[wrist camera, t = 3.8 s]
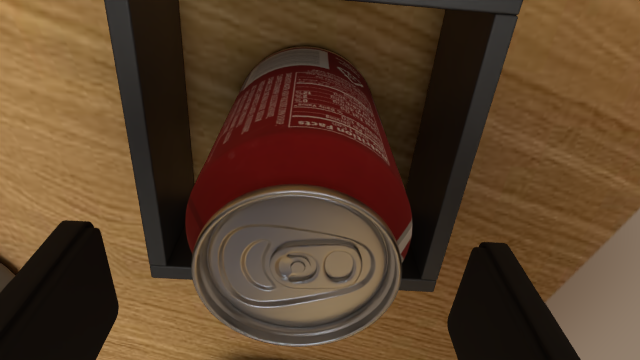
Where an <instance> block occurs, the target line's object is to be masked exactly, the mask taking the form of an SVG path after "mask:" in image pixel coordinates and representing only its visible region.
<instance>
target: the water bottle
mask: <svg viewBox="0 0 640 360" xmlns="http://www.w3.org/2000/svg"><path fill="white" fill-rule="evenodd" d="M14 277H15V275H14V274H13V273H12V272H11V271H10V270H9V269H8V268H7V267H5V266H4V265H3V264H1V263H0V292H1V291H2V290H3V289H4V288H5V286H6V285H7V284H8V283H9V282H10V281H11V280H12V279H13V278H14Z"/></svg>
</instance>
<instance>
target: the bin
mask: <svg viewBox="0 0 640 360" xmlns="http://www.w3.org/2000/svg"><path fill="white" fill-rule="evenodd" d="M346 1H358V2H369V3H381V4H392V5H404V6H415V7H427V8H438V9H446V12H445V16H444V21H443V25H442V30H441V34H440V39H439V43H438V48H437V52H436V57H435V61H434V66H433V70H432V75H431V79H430V84H429V88H428V93H427V97H426V102H425V106H424V111H423V115H422V120H421V124H420V129H419V133H418V138H417V142H416V147H415V151H414V156H413V160H412V165H411V169H410V174H409V178H408V183H407V187H406V194H407V197H408V200H409V203H410V208H411V213H412V236H411V241H410V245H409V248H408V252H407V254H406V256H405V259H404V261H403V262H402V277H401V283H400V287H399V290H405V291H425V292H433V291H434V288H435V284H436V280H437V278H438V275H439V272H440V269H441V265H442V262H443V259H444V256H445V252H446V249H447V246H448V243H449V239H450V236H451V233H452V230H453V226H454V223H455V220H456V217H457V213H458V210H459V207H460V204H461V200H462V197H463V194H464V191H465V187H466V184H467V181H468V178H469V174H470V171H471V168H472V165H473V161H474V158H475V155H476V152H477V148H478V145H479V142H480V139H481V135H482V132H483V129H484V126H485V122H486V119H487V116H488V113H489V109H490V106H491V103H492V100H493V96H494V93H495V90H496V87H497V83H498V80H499V77H500V74H501V71H502V67H503V64H504V61H505V58H506V54H507V51H508V48H509V45H510V41H511V38H512V35H513V32H514V28H515V25H516V22H517V19H518V16H517V15H518V14H519V11H520V8H521V5H522V2H523V0H346ZM104 2H105V8H106V14H107V20H108V26H109V31H110V37H111V43H112V49H113V55H114V60H115V66H116V72H117V78H118V84H119V90H120V95H121V101H122V107H123V113H124V119H125V125H126V130H127V136H128V142H129V148H130V154H131V159H132V165H133V171H134V177H135V183H136V189H137V194H138V200H139V206H140V212H141V218H142V223H143V229H144V235H145V241H146V247H147V253H148V258H149V264H150V270H151V275H152V277H153V278H170V279H190V280H193V278H192V270H191V263H192V255H193V254H192V252H191V250H190V247H189V244H188V240H187V235H186V226H185V218H186V209H187V204H188V200H189V197H190V194H191V191H192V189H193V187H194V178H193V167H192V155H191V144H190V132H189V121H188V109H187V98H186V86H185V75H184V64H183V52H182V41H181V29H180V18H179V6H178V0H104Z"/></svg>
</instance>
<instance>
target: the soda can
mask: <svg viewBox="0 0 640 360" xmlns="http://www.w3.org/2000/svg"><path fill="white" fill-rule="evenodd" d="M185 226H186V235H187V240H188V244H189V247H190V250H191V252H192V254H193V255H192V263H191V270H192V278H193V282H194V286H195V289H196V291H197V293H198V295H199V297H200V299H201V300H202V302H203V303H204V305H205V306H206V307H207V309H208V310H209V311H210V312H211V313H212V314H213V315H214V316H215V317H216V318H217V319H218V320H220V321H221V322H222V323H224V324H225V325H226V326H228V327H229V328H231V329H233V330H234V331H236V332H238V333H240V334H242V335H245V336H247V337H249V338H252V339H255V340H258V341H262V342H265V343H270V344H275V345H282V346H297V347H302V346H315V345H322V344H328V343H332V342H336V341H339V340H342V339H345V338H347V337H350V336H352V335H354V334H356V333H358V332H360V331H362V330H364V329H365V328H367V327H369V326H370V325H371V324H373V323H374V322H375V321H376V320H378V319H379V318H380V317H381V316H382V315H383V314H384V313H385V312H386V310H387V309H388V308H389V307H390V305H391V304H392V302H393V300H394V299H395V297H396V295H397V292H398V290H399V287H400V283H401V277H402V262H403V261H404V259H405V256H406V254H407V252H408V248H409V245H410V241H411V236H412V213H411V208H410V203H409V200H408V197H407V194H406V191H405V188H404V186H403V183H402V180H401V177H400V174H399V171H398V169H397V166H396V163H395V160H394V157H393V154H392V151H391V149H390V146H389V143H388V140H387V137H386V134H385V132H384V129H383V126H382V123H381V120H380V117H379V115H378V112H377V109H376V106H375V103H374V100H373V98H372V95H371V92H370V89H369V87H368V85H367V83H366V81H365V79H364V78H363V76H362V75H361V74H360V72H359V71H358V70H357V69H356V68H355V67H354V66H353V65H352V64H351V63H350V62H348V61H347V60H346V59H344V58H343V57H341V56H339V55H337V54H335V53H333V52H331V51H328V50H325V49H321V48H316V47H294V48H288V49H285V50H281V51H279V52H276V53H274V54H272V55H270V56H268V57H267V58H265V59H264V60H262V61H261V62H260V63H259V64H258V65H257V66H256V67H255V68H254V69H253V70H252V71H251V72H250V73H249V75H248V76H247V78H246V79H245V81H244V83H243V85H242V87H241V89H240V91H239V93H238V96H237V98H236V100H235V102H234V104H233V106H232V108H231V110H230V112H229V114H228V116H227V118H226V120H225V123H224V125H223V127H222V129H221V131H220V133H219V135H218V137H217V139H216V141H215V143H214V145H213V147H212V149H211V152H210V154H209V156H208V158H207V160H206V162H205V164H204V166H203V168H202V170H201V172H200V174H199V176H198V179H197V181H196V183H195V185H194V187H193V189H192V191H191V194H190V197H189V200H188V204H187V209H186V218H185Z"/></svg>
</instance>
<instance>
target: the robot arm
mask: <svg viewBox="0 0 640 360" xmlns="http://www.w3.org/2000/svg"><path fill="white" fill-rule="evenodd" d="M118 307H119V306H118V300H117V296H116V292H115V288H114V284H113V280H112V276H111V272H110V268H109V264H108V260H107V256H106V252H105V248H104V243H103V239H102V235H101V232H100V230H99V229H98V228H94V226H93V224H92V223H91V222H86V221H67V220H65V221H62V222H61V223H60V224H59V225H58V226H57V227H56V229H55V230H54V231H53V232H52V233H51V234H50V236H49V237H48V238H47V239H46V240H45V242H44V243H43V244H42V245H41V246H40V247H39V249H38V250H37V251H36V252H35V253H34V254H33V256H32V257H31V258H30V259H29V260H28V261H27V263H26V264H25V265H24V266H23V267H22V269H21V270H20V271H19V272H18V273H17V274H16V276H15V277H14V278H13V279H12V280H11V281H10V282H9V283H8V284H7V285H6V286H5V288H4V289H3V290H2V291H1V292H0V360H96V358H97V356H98V354H99V352H100V350H101V348H102V346H103V344H104V342H105V340H106V338H107V336H108V334H109V332H110V330H111V328H112V326H113V324H114V322H115V320H116V318H117V315H118ZM448 331H449V334H450V337H451V340H452V343H453V346H454V349H455V352H456V355H457V357H458V360H580V358H579V357H578V355H577V353H576V352H575V350H574V348H573V347H572V345H571V344H570V342H569V340H568V339H567V337H566V336H565V334H564V333H563V331H562V329H561V328H560V326H559V325H558V323H557V322H556V320H555V318H554V317H553V315H552V314H551V312H550V310H549V309H548V307H547V305H546V304H545V303H544V302H543V300H542V299H541V297H540V295H539V294H538V292H537V291H536V289H535V287H534V286H533V284H532V283H531V281H530V279H529V278H528V276H527V275H526V273H525V271H524V270H523V268H522V267H521V265H520V263H519V262H518V260H517V259H516V257H515V255H514V254H513V252H512V251H511V249H510V248H509V246H508V245H507V244H505V243H493V242H482V243H481V244H480V245H479V247H475V248H473V250H472V252H471V255H470V257H469V260H468V263H467V266H466V269H465V271H464V274H463V277H462V280H461V283H460V286H459V288H458V291H457V294H456V297H455V300H454V302H453V305H452V308H451V311H450V314H449V316H448Z"/></svg>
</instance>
